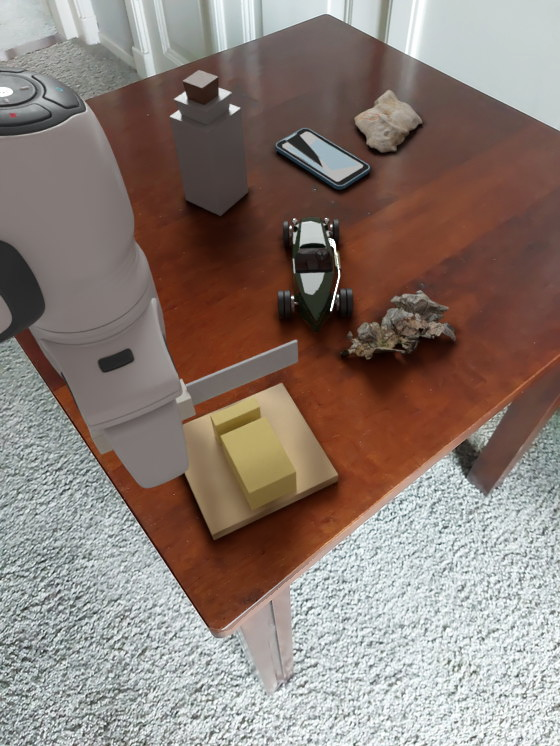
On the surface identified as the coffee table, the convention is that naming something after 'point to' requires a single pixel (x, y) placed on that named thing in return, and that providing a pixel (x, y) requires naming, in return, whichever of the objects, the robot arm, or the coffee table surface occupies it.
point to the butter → (259, 462)
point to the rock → (401, 326)
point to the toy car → (314, 273)
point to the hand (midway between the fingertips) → (140, 415)
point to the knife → (222, 383)
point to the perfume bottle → (209, 144)
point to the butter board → (218, 481)
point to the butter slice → (235, 417)
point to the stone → (387, 122)
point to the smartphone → (322, 158)
